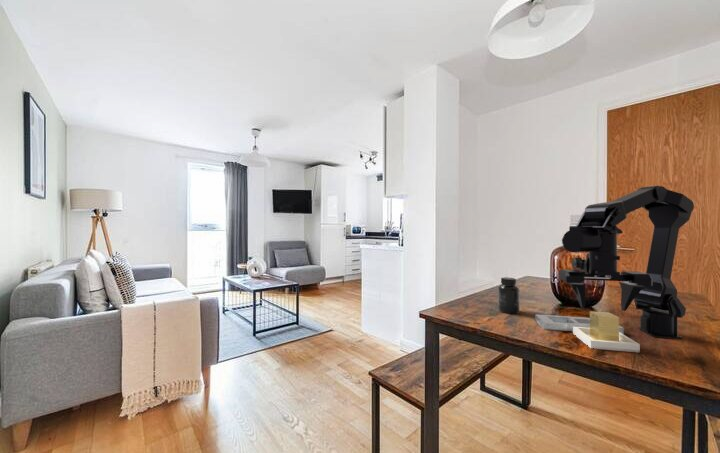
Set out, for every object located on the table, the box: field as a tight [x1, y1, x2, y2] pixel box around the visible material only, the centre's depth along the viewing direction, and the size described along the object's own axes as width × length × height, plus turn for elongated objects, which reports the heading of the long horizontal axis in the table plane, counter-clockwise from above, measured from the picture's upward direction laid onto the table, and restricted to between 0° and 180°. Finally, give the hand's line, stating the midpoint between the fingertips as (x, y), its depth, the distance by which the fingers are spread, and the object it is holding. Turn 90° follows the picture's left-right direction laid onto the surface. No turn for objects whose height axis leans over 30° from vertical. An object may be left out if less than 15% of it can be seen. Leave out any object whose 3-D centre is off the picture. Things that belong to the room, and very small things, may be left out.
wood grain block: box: [589, 310, 620, 342], centre depth 77 cm, size 4×4×7 cm
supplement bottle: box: [497, 276, 520, 314], centre depth 105 cm, size 7×7×12 cm
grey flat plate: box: [534, 314, 625, 335], centre depth 88 cm, size 20×8×2 cm, turn 75°
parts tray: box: [572, 327, 641, 354], centre depth 77 cm, size 10×10×2 cm
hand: (602, 309), depth 77 cm, fingers open, 9 cm apart
